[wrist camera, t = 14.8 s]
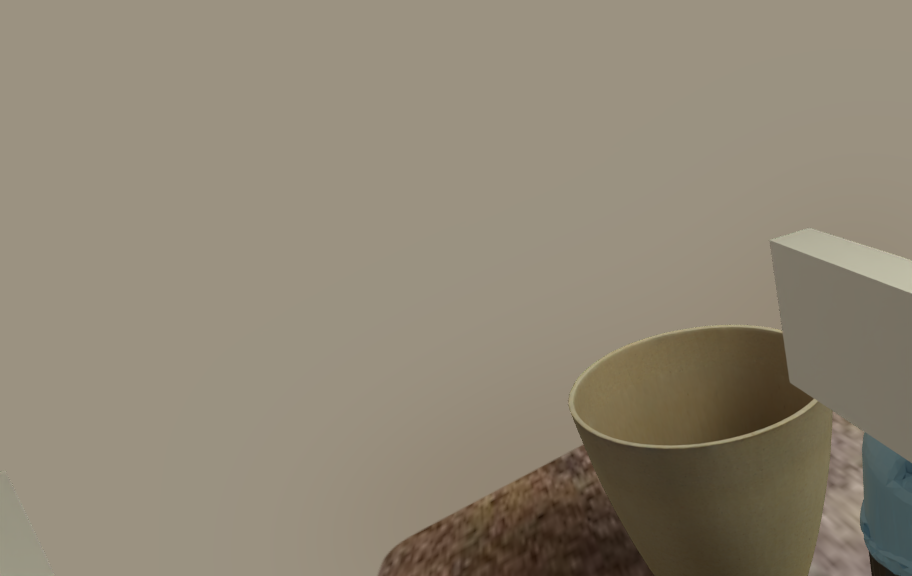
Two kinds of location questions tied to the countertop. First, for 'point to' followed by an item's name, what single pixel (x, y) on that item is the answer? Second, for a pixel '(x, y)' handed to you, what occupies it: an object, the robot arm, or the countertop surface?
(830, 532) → the countertop surface
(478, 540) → the countertop surface
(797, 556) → the plant pot
